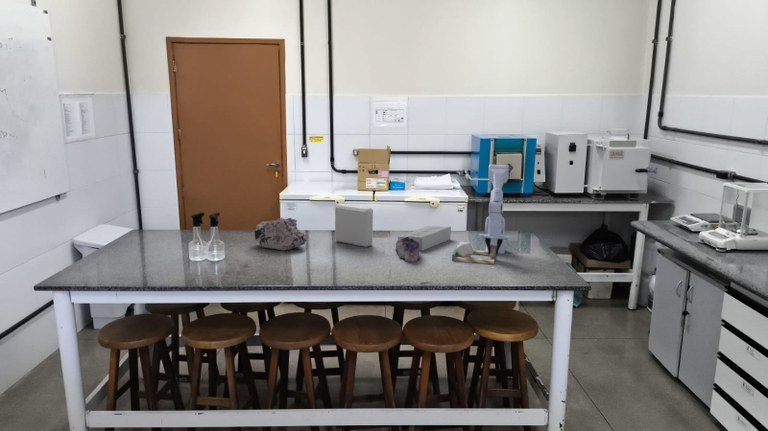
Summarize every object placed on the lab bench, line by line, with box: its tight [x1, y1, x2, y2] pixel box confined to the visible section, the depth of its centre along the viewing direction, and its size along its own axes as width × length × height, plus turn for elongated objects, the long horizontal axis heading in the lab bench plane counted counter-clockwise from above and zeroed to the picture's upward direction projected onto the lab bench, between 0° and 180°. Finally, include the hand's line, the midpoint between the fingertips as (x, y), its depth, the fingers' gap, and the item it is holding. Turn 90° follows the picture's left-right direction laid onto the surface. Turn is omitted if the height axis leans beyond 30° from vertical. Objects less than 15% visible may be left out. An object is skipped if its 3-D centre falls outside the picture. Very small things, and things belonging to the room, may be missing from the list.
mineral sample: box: [254, 217, 307, 251], centre depth 286 cm, size 27×19×15 cm
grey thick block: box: [334, 203, 374, 248], centre depth 293 cm, size 21×8×20 cm, turn 58°
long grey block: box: [397, 225, 452, 252], centre depth 298 cm, size 30×14×8 cm, turn 145°
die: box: [454, 241, 474, 258], centre depth 271 cm, size 8×9×10 cm
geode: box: [394, 237, 420, 263], centre depth 272 cm, size 20×12×10 cm, turn 11°
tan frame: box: [451, 245, 497, 265], centre depth 272 cm, size 20×16×7 cm
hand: (493, 253), depth 270 cm, fingers closed on tan frame, 3 cm apart
